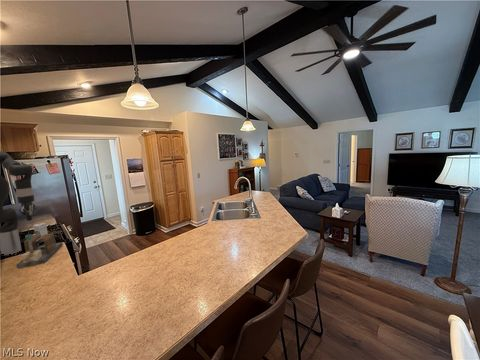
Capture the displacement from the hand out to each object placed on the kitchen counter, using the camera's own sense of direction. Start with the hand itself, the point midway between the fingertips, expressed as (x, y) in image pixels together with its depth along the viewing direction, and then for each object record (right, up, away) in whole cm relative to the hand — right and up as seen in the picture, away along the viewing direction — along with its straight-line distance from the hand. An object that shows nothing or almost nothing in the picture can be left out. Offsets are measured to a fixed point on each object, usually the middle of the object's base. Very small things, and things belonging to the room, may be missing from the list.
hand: (29, 220), depth 134 cm
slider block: (+2, -26, 0) cm, 26 cm away
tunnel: (-2, -28, +11) cm, 30 cm away
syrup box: (-28, -25, +37) cm, 52 cm away
